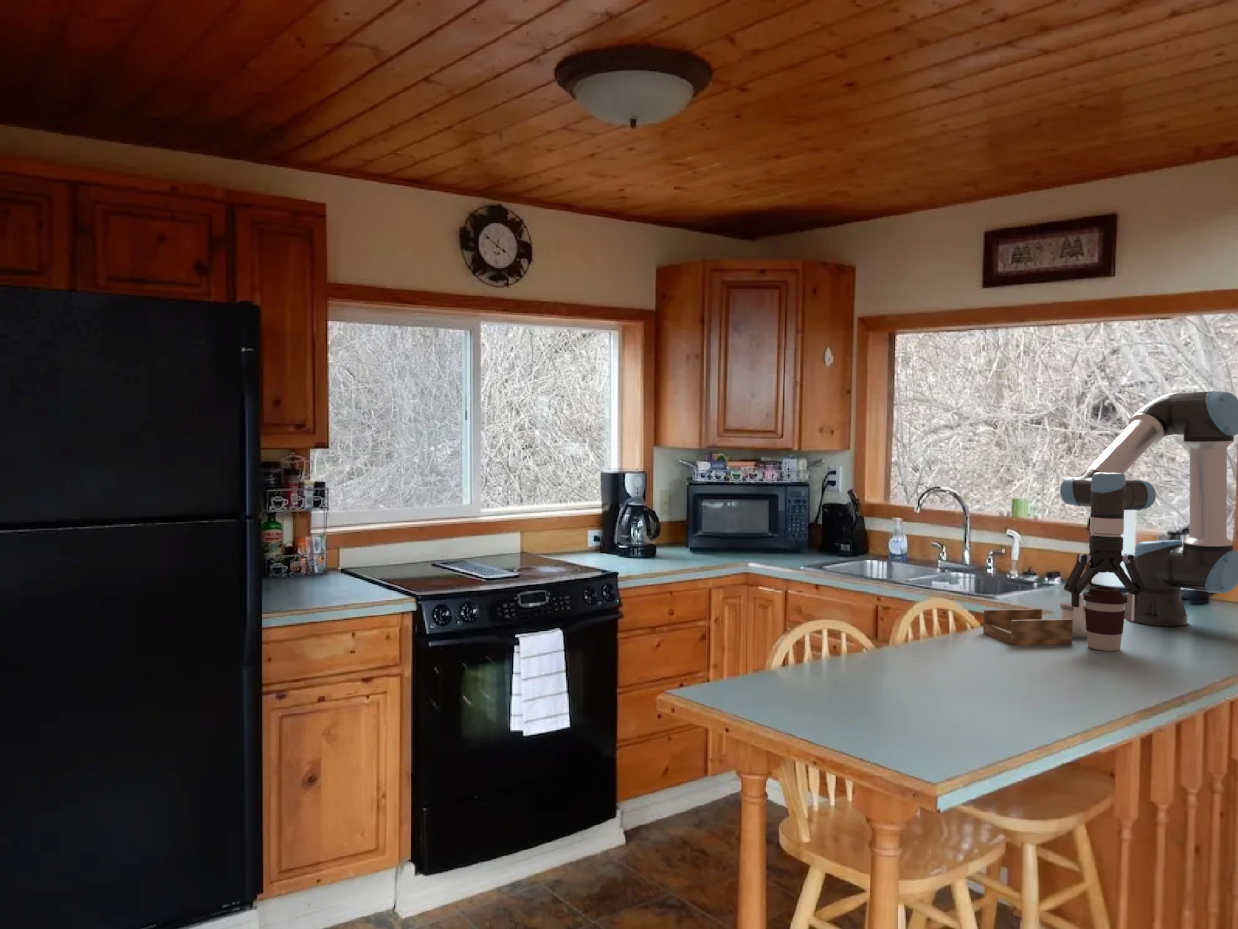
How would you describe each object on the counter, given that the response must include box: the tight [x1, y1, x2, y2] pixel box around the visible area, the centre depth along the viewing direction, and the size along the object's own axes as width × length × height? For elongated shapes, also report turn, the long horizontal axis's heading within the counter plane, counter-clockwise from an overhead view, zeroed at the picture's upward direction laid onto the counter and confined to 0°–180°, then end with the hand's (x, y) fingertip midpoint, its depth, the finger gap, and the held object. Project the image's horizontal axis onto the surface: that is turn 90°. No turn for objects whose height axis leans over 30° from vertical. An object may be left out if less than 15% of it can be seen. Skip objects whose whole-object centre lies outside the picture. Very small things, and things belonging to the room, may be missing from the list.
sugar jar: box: [1059, 601, 1087, 637], centre depth 259 cm, size 8×8×8 cm
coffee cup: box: [1082, 586, 1128, 652], centre depth 241 cm, size 10×10×15 cm
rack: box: [982, 608, 1073, 646], centre depth 253 cm, size 16×15×6 cm
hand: (1103, 620), depth 241 cm, fingers open, 13 cm apart
